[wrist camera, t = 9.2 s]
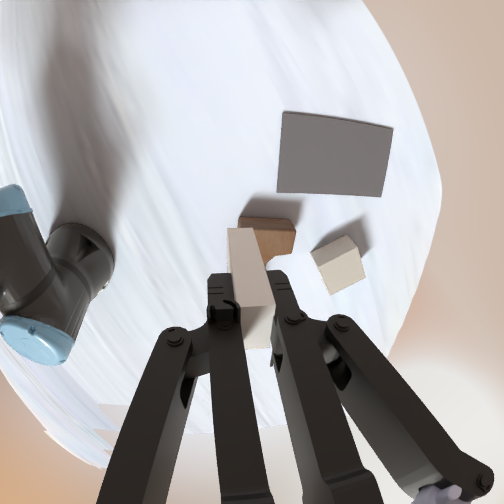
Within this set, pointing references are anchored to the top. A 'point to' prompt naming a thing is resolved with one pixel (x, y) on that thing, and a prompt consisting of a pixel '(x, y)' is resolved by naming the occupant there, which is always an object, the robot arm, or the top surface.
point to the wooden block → (271, 235)
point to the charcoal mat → (332, 156)
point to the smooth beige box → (339, 264)
